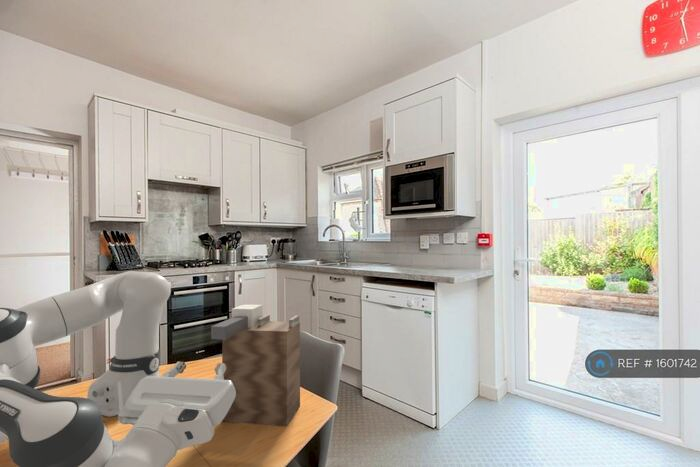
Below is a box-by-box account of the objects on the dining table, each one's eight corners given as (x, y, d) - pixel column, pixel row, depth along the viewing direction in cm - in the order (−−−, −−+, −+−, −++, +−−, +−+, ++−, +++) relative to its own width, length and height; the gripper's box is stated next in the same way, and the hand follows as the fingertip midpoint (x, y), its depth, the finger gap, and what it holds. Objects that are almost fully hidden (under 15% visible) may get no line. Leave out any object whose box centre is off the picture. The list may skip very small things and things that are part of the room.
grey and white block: (206, 338, 79) (206, 317, 79) (243, 321, 98) (243, 304, 98) (229, 339, 78) (229, 318, 78) (262, 321, 97) (262, 304, 97)
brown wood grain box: (221, 421, 87) (222, 322, 88) (241, 402, 98) (242, 313, 99) (287, 426, 84) (286, 323, 86) (300, 405, 95) (299, 315, 96)
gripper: (118, 433, 62) (163, 372, 75) (219, 441, 59) (249, 376, 72) (104, 412, 60) (154, 352, 72) (209, 419, 57) (242, 355, 69)
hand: (202, 364), depth 72 cm, fingers open, 8 cm apart
